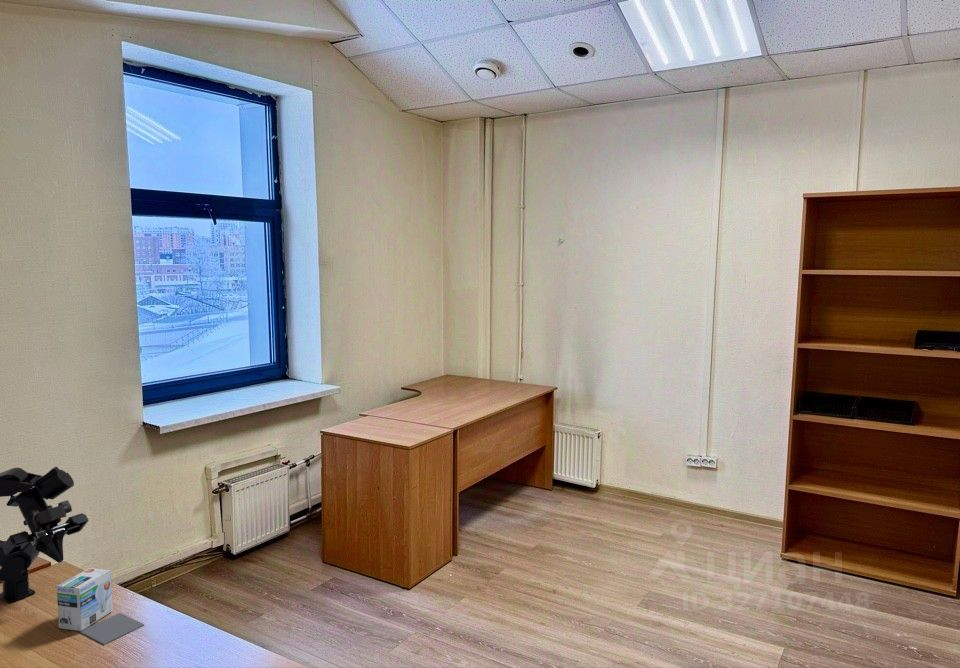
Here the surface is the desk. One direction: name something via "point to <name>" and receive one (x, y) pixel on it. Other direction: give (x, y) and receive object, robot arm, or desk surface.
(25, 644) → the desk surface
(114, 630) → the rubber mat
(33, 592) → the robot arm
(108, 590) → the light bulb box
